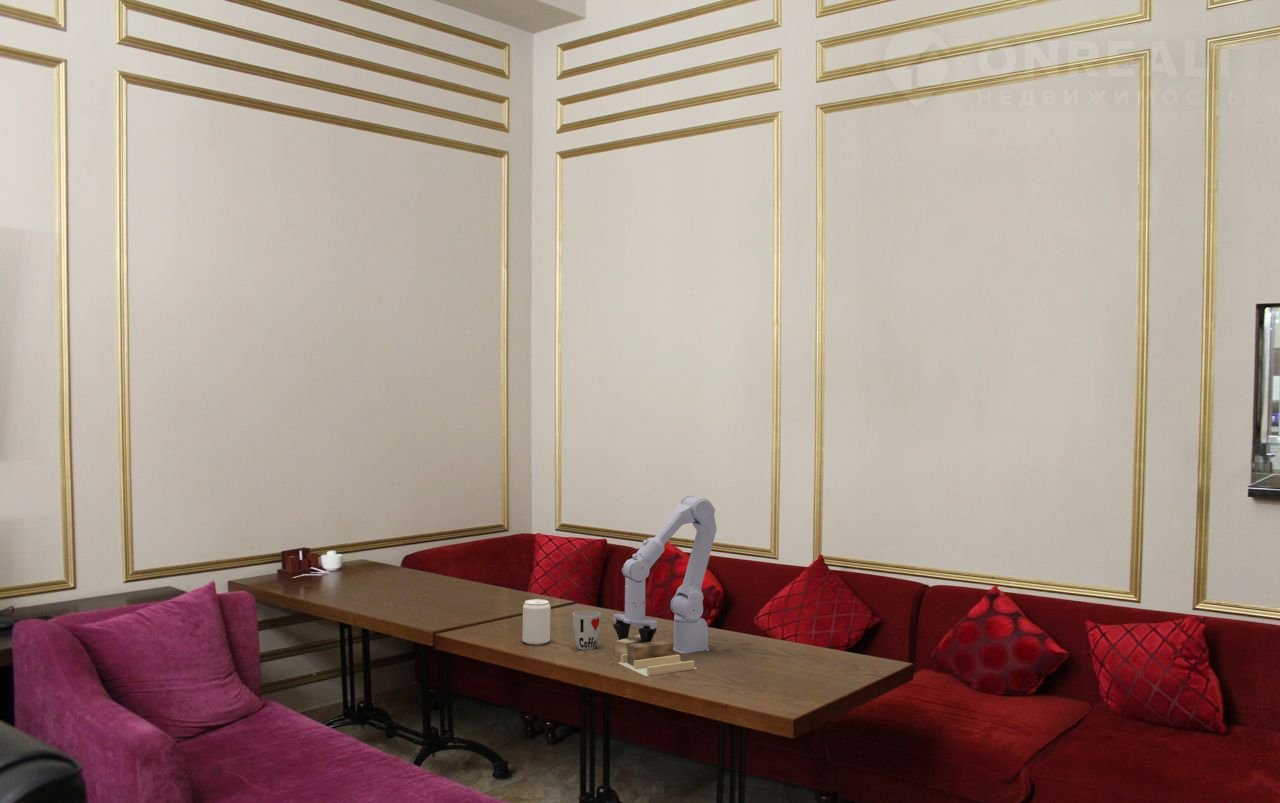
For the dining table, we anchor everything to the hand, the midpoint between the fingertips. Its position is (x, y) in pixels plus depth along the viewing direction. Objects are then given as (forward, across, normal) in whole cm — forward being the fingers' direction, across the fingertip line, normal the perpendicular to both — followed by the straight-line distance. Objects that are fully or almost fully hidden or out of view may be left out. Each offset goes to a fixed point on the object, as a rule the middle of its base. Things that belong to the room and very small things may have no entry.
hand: (634, 650), depth 275 cm
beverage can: (+2, -32, -8) cm, 32 cm away
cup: (+2, -16, -3) cm, 16 cm away
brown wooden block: (+1, +10, -4) cm, 11 cm away
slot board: (+1, +13, -6) cm, 14 cm away
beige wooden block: (+2, 0, 0) cm, 2 cm away
